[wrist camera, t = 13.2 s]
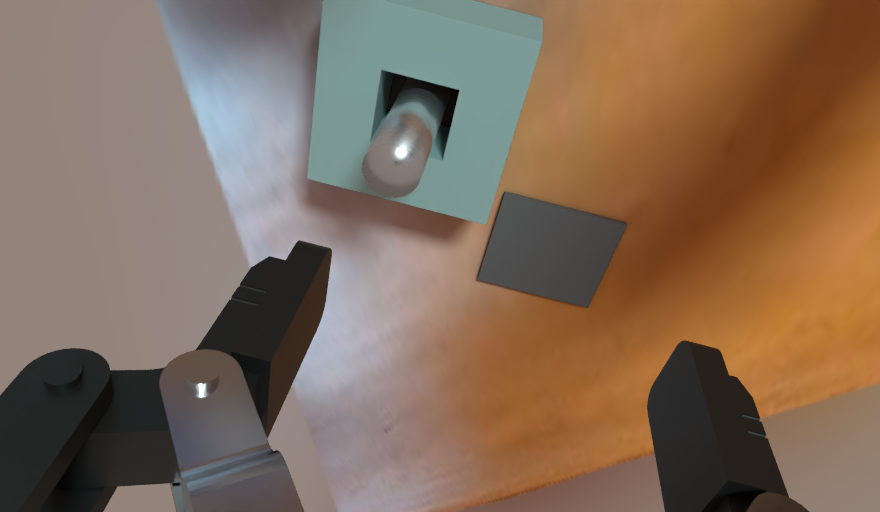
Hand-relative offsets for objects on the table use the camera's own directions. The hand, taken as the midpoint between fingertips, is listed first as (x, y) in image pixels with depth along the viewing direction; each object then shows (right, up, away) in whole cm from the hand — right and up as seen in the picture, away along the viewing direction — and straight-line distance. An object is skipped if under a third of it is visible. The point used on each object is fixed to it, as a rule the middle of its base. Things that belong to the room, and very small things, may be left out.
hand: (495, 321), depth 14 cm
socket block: (-2, +13, +26) cm, 29 cm away
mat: (+7, +2, +32) cm, 33 cm away
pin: (-2, +13, +26) cm, 29 cm away
